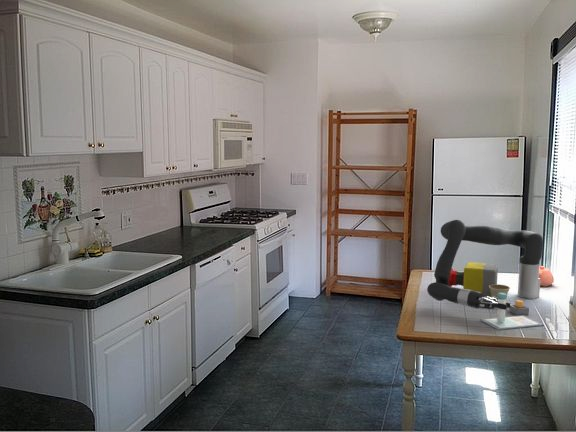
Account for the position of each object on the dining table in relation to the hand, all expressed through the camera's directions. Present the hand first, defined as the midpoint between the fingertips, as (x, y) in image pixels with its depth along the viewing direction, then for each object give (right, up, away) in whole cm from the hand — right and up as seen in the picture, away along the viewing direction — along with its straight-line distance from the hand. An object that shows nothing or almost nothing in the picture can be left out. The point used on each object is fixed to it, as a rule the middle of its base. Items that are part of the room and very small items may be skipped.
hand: (508, 306), depth 234 cm
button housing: (+12, -6, +18) cm, 22 cm away
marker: (-2, -7, +3) cm, 8 cm away
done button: (+12, -4, +17) cm, 22 cm away
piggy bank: (+44, +1, +65) cm, 78 cm away
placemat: (+3, -8, +4) cm, 9 cm away
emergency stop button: (0, -2, +50) cm, 50 cm away
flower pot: (+8, -4, +31) cm, 32 cm away
